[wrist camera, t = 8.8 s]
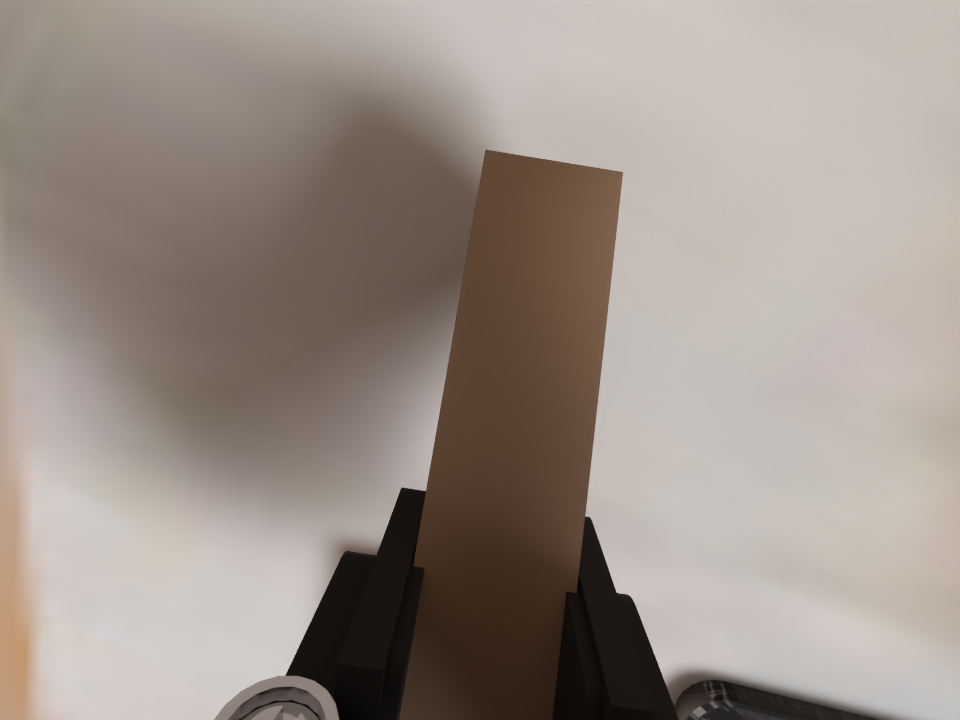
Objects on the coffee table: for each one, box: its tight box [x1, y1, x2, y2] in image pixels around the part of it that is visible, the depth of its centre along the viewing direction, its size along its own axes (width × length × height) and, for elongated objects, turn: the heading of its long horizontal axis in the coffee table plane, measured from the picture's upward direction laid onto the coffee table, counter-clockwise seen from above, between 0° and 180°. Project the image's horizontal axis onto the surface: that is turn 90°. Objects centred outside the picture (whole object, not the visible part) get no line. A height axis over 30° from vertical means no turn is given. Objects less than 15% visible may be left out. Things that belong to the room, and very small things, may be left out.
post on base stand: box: [399, 150, 623, 720], centre depth 9 cm, size 7×13×5 cm, turn 171°
